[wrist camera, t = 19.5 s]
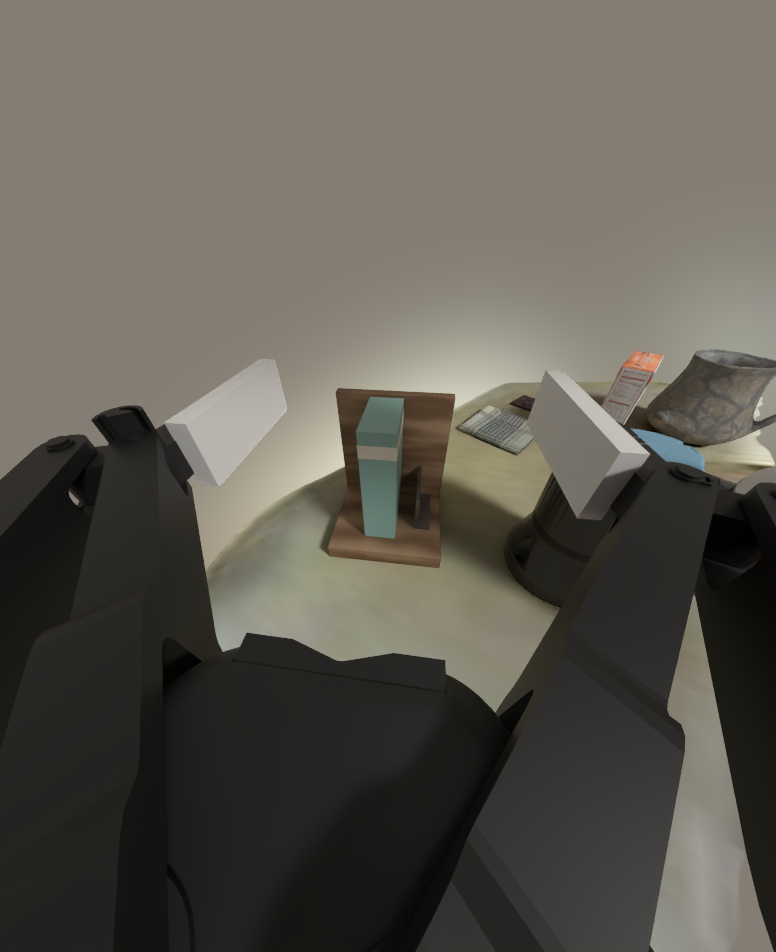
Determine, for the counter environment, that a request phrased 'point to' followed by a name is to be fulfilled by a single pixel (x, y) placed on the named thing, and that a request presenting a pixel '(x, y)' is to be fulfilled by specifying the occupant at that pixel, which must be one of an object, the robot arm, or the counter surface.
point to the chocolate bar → (524, 402)
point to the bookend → (421, 506)
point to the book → (380, 464)
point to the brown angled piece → (420, 447)
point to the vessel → (713, 398)
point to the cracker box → (630, 385)
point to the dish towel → (500, 429)
